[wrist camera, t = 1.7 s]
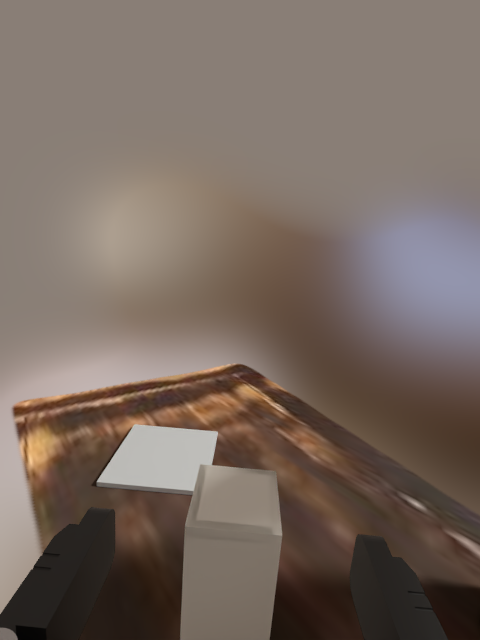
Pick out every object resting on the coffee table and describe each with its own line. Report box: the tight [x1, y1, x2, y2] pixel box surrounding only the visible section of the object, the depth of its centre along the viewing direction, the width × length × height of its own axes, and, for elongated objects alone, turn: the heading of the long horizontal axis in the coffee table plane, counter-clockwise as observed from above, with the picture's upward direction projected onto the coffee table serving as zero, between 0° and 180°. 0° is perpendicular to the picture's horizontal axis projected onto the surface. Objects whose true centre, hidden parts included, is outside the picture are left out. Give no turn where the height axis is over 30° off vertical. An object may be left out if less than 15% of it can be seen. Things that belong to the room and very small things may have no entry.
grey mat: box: [97, 425, 218, 495], centre depth 46 cm, size 13×13×1 cm
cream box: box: [180, 464, 282, 640], centre depth 25 cm, size 6×6×12 cm
